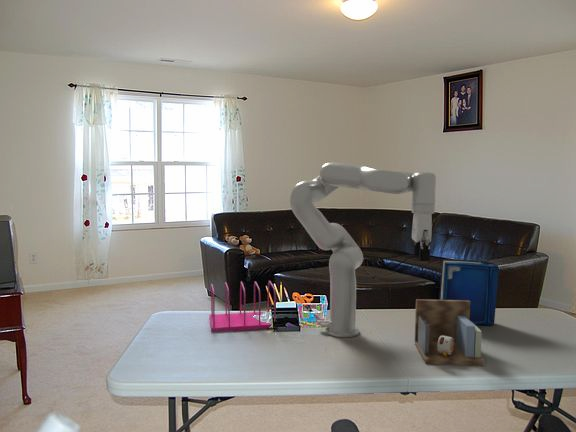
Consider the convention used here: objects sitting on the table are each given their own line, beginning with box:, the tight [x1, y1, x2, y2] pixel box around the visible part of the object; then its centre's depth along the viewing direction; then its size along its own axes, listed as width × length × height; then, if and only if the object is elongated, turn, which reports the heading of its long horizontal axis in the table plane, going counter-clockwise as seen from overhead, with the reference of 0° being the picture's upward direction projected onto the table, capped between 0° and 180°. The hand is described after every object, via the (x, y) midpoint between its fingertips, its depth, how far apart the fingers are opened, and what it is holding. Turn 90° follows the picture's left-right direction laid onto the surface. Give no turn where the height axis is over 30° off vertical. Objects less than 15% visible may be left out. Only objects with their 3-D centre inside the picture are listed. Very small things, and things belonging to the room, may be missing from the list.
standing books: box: [456, 316, 483, 358], centre depth 162 cm, size 5×11×10 cm, turn 177°
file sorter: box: [209, 280, 277, 333], centre depth 194 cm, size 17×25×16 cm
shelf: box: [414, 298, 485, 367], centre depth 163 cm, size 18×18×16 cm
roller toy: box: [437, 335, 454, 357], centre depth 159 cm, size 4×6×6 cm
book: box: [438, 259, 500, 327], centre depth 195 cm, size 22×7×25 cm, turn 84°
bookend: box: [418, 315, 430, 356], centre depth 163 cm, size 1×11×10 cm, turn 177°
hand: (421, 258), depth 170 cm, fingers open, 9 cm apart
